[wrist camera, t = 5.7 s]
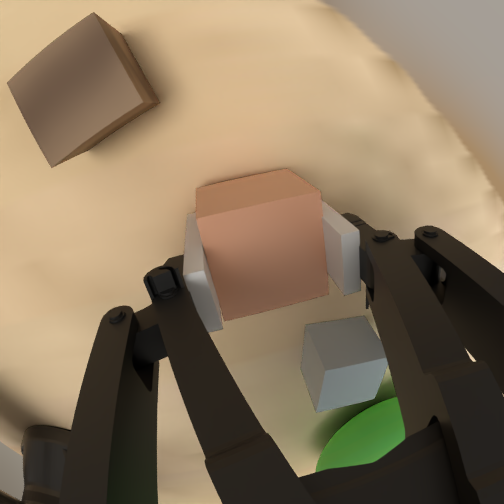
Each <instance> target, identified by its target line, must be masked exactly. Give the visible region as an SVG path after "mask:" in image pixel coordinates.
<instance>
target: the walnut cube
mask: <svg viewBox="0 0 504 504" xmlns="http://www.w3.org/2000/svg"><path fill="white" fill-rule="evenodd" d="M7 84H8V86H9V88H10V91H11V93H12V95H13V97H14V99H15V101H16V103H17V105H18V107H19V109H20V111H21V113H22V115H23V117H24V119H25V121H26V123H27V125H28V127H29V129H30V131H31V133H32V134H33V136H34V138H35V140H36V142H37V144H38V145H39V147H40V149H41V151H42V152H43V154H44V156H45V158H46V159H47V161H48V163H49V165H50V166H51V168H53V167H55V166H57V165H59V164H61V163H63V162H65V161H67V160H69V159H71V158H73V157H75V156H77V155H79V154H81V153H83V152H86V151H88V150H89V149H91V148H92V147H93V146H95V145H96V144H97V143H99V142H100V141H102V140H103V139H105V138H106V137H107V136H109V135H110V134H112V133H113V132H115V131H116V130H118V129H119V128H121V127H122V126H124V125H125V124H127V123H128V122H130V121H132V120H133V119H135V118H136V117H138V116H139V115H141V114H143V113H144V112H146V111H148V110H149V109H151V108H153V107H154V106H156V105H158V104H159V103H160V102H159V100H158V99H157V97H156V95H155V93H154V91H153V90H152V88H151V86H150V84H149V83H148V81H147V79H146V77H145V75H144V74H143V72H142V70H141V68H140V67H139V65H138V63H137V61H136V59H135V58H134V56H133V54H132V52H131V50H130V49H129V47H128V45H127V43H126V41H125V40H124V38H123V36H122V34H121V33H120V32H118V31H117V30H116V29H115V28H113V27H112V26H111V25H109V24H108V23H107V22H106V21H104V20H103V19H102V18H100V17H99V16H98V15H97V14H95V13H94V12H93V13H91V14H90V15H88V16H87V17H85V18H84V19H82V20H81V21H80V22H78V23H77V24H75V25H74V26H73V27H71V28H70V29H69V30H67V31H66V32H65V33H63V34H62V35H61V36H59V37H58V38H57V39H55V40H54V41H53V42H52V43H50V44H49V45H48V46H47V47H46V48H44V49H43V50H42V51H41V52H40V53H38V54H37V55H36V56H35V57H34V58H33V59H32V60H30V61H29V62H28V63H27V64H26V65H25V66H24V67H23V68H22V69H21V70H20V71H19V72H17V73H16V74H15V75H14V76H13V77H12V78H11V79H10V80H9V81H8V82H7Z"/></svg>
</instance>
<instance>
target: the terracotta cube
mask: <svg viewBox="0 0 504 504" xmlns="http://www.w3.org/2000/svg"><path fill="white" fill-rule="evenodd" d="M322 217H323V210H322V200H321V191H319V190H318V189H317V188H315V187H314V186H312V185H311V184H309V183H308V182H306V181H305V180H303V179H302V178H300V177H299V176H297V175H296V174H294V173H293V172H291V171H290V170H288V169H282V170H277V171H272V172H267V173H262V174H257V175H252V176H248V177H243V178H238V179H234V180H229V181H225V182H221V183H216V184H212V185H208V186H203V187H199V188H196V221H197V225H198V229H199V232H200V236H201V240H202V244H203V247H204V251H205V255H206V259H207V262H208V266H209V269H210V273H211V277H212V280H213V284H214V287H215V290H216V293H217V297H218V300H219V305H220V308H221V311H222V315H223V318H224V321H228V320H232V319H236V318H240V317H245V316H249V315H253V314H257V313H261V312H265V311H269V310H273V309H276V308H280V307H284V306H288V305H292V304H295V303H299V302H303V301H307V300H310V299H314V298H317V297H321V296H325V295H328V294H329V286H328V273H327V262H326V252H325V242H324V232H323V223H322Z"/></svg>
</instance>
